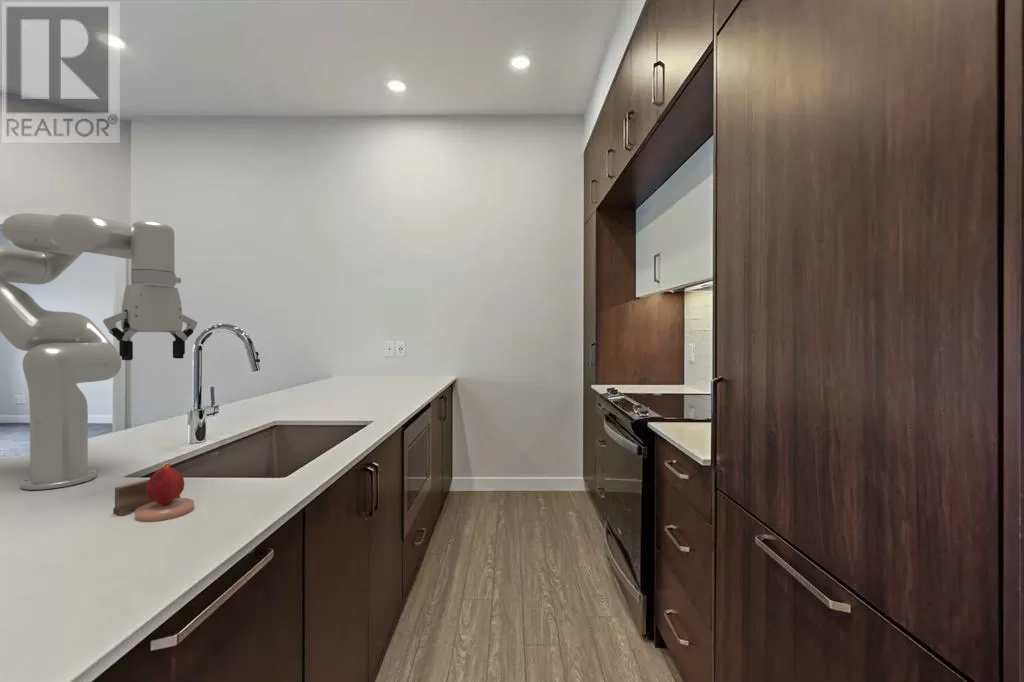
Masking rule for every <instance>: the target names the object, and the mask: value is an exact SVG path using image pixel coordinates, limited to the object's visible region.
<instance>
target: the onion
mask: <svg viewBox="0 0 1024 682" xmlns="http://www.w3.org/2000/svg"><path fill="white" fill-rule="evenodd" d="M171 465H172V464H171V463H170V462H166V463H164V464H163V465H162V466H161V467H160V468H159V469H158V470H157V471H155V472H154V473H153V474H152V475H151V476H150V477H149V479H148V480H149V481H148V483H147V486H146V492H147V495H148V497H149V498H150V499H151V500H153V501H154V502H156V503H158V504H161V505H164V506H166V505H169V504H170V503H171V502H172V501H173V500H174V499H175V498H177V497H178V496H179V495H180V496H181V494H182V492H183V491H184V488H185V479H184V476H183V475H182V473H180V472H179V471H178V470H176V469H174V468H173V467H171Z"/></svg>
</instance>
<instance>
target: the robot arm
mask: <svg viewBox="0 0 1024 682" xmlns="http://www.w3.org/2000/svg"><path fill="white" fill-rule="evenodd" d="M0 231H1V233H2V235H3V237H4V238H5V240H6V241H7V242H8V243H9V244H11V245H5V244H4V245H3V244H0V333H1V334H2V335H3V336H4V338H5V339H6V340H7V341H8V342H9V343H10V344H11V345H12V346H13V347H14V348H16V349H17V350H21V351H24V352H26V353H25V354H24V356H23V359H22V371H23V373H24V378H25V382H26V385H27V390H28V400H29V401H28V403H29V466H30V467H29V468H30V469H29V471H30V473H29V476H30V477H27V478H24V479H22V480H21V481H20V483H19V488H21V489H22V490H27V491H28V490H29V491H37V490H39V491H41V490H51V489H58V488H63V487H68V486H69V487H70V486H74V485H79V484H82V482H83V483H85V482H88V481H91V480H94V479H95V478H96V477H97V476H98V472H97V471H96V470H95V469H92V468H91V469H89V467H88V466H89V459H88V458H89V457H88V456H89V455H88V453H89V451H88V450H89V445H88V443H89V437H88V436H89V435H88V434H89V433H88V432H89V431H88V430H89V429H88V428H89V424H88V422H89V421H88V418H89V417H88V411H89V410H88V400H87V398H86V396H85V394H84V393H83V391H82V390H81V389H80V388H79V386H78V385H77V384H82V383H83V384H84V383H85V384H86V383H94V382H95V383H97V382H102V381H107V380H109V379H110V380H111V379H113V378H115V377H116V376H117V375H118V373H119V372H120V370H121V368H122V361H132V360H133V359H134V351H133V350H134V342H133V341H132V340H131V339H132V338H133V336H134V335H136V333H169V334H170V335H171V336H172V337H173V338H174V340H173V341H172V358H173V359H184V356H185V354H186V353H185V352H186V341H187V340H188V339H189V337H190V336H192V334H193V333H194V330H195V329H196V327H197V326H198V321H196V320H194V319H193V318H190V317H189V316H186V315H185V314H183V309H182V302H181V297H180V293H179V289H178V287H175V286H177V285H176V284H181V282H182V279H181V277H178V276H177V275H176V274H177V273H175V270H176V269H175V268H176V267H175V262H176V261H175V260H176V258H175V231H174V229H173V228H172V226H171V225H169V224H167V223H162V222H158V221H157V222H156V221H147V220H146V221H145V220H144V221H143V220H142V221H141V220H140V221H136V222H133V224H127V223H125V222H120V221H116V220H111V219H109V218H108V219H107V218H102V217H97V216H91V215H84V214H83V215H82V214H71V213H69V214H68V213H62V214H61V213H60V214H59V215H54V214H53V215H52V214H43V213H31V212H30V213H25V212H23V213H22V212H21V213H16V214H13V215H10V216H8V217H7V218H6V219H4V220H3V222H2V224H1V229H0ZM12 245H13V246H12ZM83 253H90V254H96V255H103V256H110V257H114V258H120V259H127V260H130V262H131V264H130V266H131V267H130V272H131V273H130V275H131V276H130V278H131V279H130V282H131V283H130V284H126V286H125V289H124V294H123V298H122V305H121V312H119V313H117V314H114V315H112V316H111V315H110V316H109V317H107V318H104V319H103V320H102V323H103V325H104V326H105V327H106V329H107V330H108V333H110V334H111V335H112V336H113V337H114V338H115V339H116V341H118V342H119V343H118V344H119V346H118V347H119V352H118V350H117V348H116V347H115V345H114V344H113V343H112V342H111V341H110V340H109V339H108V337H106V335H105V334H104V333H103V331H101V330H100V328H99V327H98V326H97V325H96V324H95V323H94V321H92V320H91V319H90V318H88V317H87V316H84V315H83V314H80V313H76V312H70V311H69V312H68V311H53V310H48V309H44V308H43V307H41V306H40V305H39V304H38V303H37V301H35V299H34V298H33V297H32V296H31V295H30V294H29V293H27V292H26V291H24V290H23V289H21V288H19V287H17V286H15V285H14V284H12V283H16V284H17V283H18V284H26V285H27V284H28V285H45V284H49V283H51V282H52V281H54V280H55V279H57V278H58V277H59V276H60V275H61V274H63V272H65V270H66V269H67V268H69V267H70V266H71V265H72V264H73V263H74V262H76V260H77V259H79V257H80V256H81V255H82V254H83ZM118 322H120V327H121V329H122V330H121V329H119V328H118V326H117V324H116V323H118ZM183 323H184V324H186V328H185V329H184V330H182V329H183Z"/></svg>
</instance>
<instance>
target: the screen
mask: <svg viewBox="0 0 1024 682" xmlns="http://www.w3.org/2000/svg"><path fill="white" fill-rule="evenodd" d="M148 481H149V479H146V480H145V479H144V480H142V481H137V482H132V483H128V484H124V485H119V486H116V487H114V507H113V508H112V511H113V512H112V514H114V515H117V516H119V517H124V516H126V515H131V514H132V513H135V510H136V509H137V508H139V507H141V506H143V505H145V504H148V503H151V502H154V501H153V500H151V499H150V498H149V497H148V495H147V492H146V486H147V483H148ZM177 498H181V494H180V495H179V496H178V497H177Z"/></svg>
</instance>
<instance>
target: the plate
mask: <svg viewBox="0 0 1024 682" xmlns="http://www.w3.org/2000/svg"><path fill="white" fill-rule="evenodd" d="M194 509H195V501H194V499H192V498H187V497H180V498H175V499H174V500H173V501H172V502H171V503H170V504H169V505H166V506H164V505H161V504H158V503H156V502H151V503H148V504H145V505H143V506H141V507H139V508H137V509H136V510H135V511H134V519H135V521H137V522H141V523H142V522H143V523H145V522H146V523H149V522H161V521H162V522H163V521H166V520H172V519H176V518H179V517H182V516H184V515H187V514H189V513H191V512H192V511H193V510H194Z"/></svg>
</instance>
